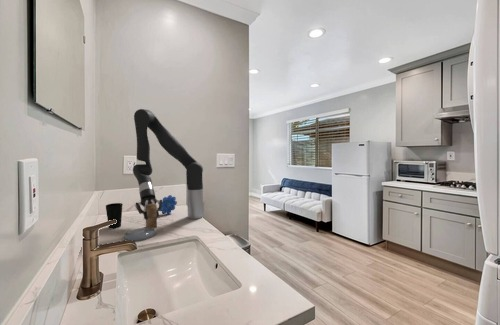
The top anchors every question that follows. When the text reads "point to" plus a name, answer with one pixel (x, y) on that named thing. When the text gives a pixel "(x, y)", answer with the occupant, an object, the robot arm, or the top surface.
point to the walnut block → (151, 215)
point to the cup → (114, 214)
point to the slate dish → (140, 234)
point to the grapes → (168, 204)
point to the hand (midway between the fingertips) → (152, 218)
